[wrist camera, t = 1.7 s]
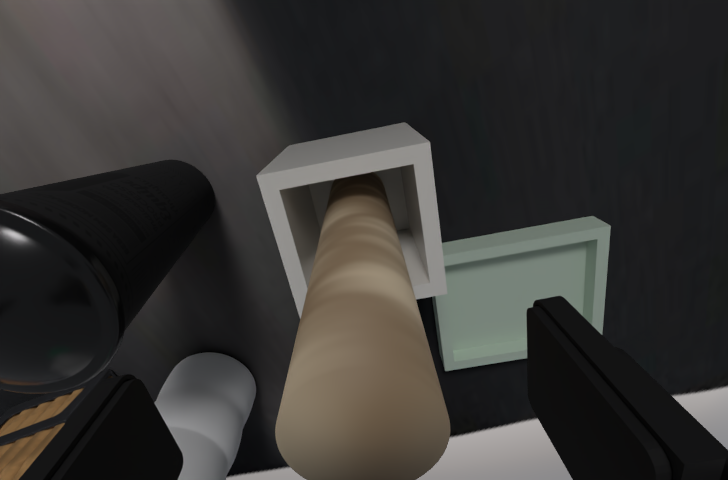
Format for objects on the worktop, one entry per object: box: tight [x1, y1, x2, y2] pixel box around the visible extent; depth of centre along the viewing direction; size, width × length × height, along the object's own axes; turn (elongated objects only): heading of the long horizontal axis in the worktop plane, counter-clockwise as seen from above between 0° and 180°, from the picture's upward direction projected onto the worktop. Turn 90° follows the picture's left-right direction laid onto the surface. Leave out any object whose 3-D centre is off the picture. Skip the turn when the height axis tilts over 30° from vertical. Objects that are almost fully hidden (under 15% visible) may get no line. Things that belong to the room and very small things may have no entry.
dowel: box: [275, 172, 450, 480], centre depth 16 cm, size 4×4×18 cm
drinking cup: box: [0, 160, 214, 394], centre depth 16 cm, size 8×8×20 cm
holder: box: [256, 123, 448, 319], centre depth 21 cm, size 8×8×8 cm
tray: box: [432, 216, 611, 371], centre depth 28 cm, size 12×10×2 cm
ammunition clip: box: [0, 369, 116, 480], centre depth 26 cm, size 11×2×12 cm, turn 113°
